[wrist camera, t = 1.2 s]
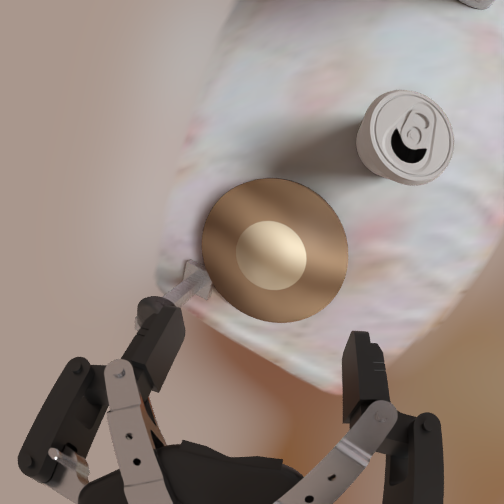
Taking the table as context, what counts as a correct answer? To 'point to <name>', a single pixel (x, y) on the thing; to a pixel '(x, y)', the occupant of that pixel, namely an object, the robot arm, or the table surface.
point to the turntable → (275, 250)
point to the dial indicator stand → (177, 292)
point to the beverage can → (405, 138)
